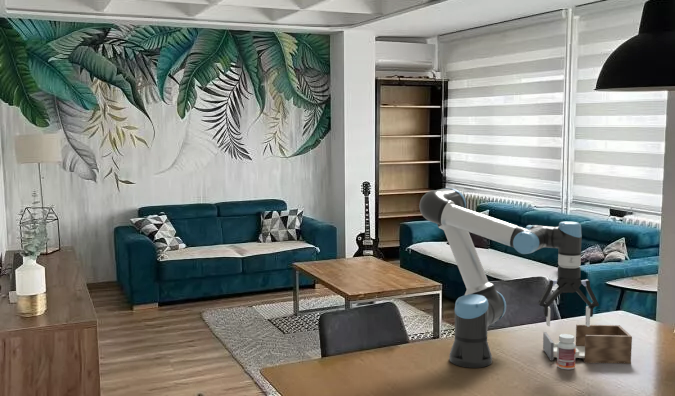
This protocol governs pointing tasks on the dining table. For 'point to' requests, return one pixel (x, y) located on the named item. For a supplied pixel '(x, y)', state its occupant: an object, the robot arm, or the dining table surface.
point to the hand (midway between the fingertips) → (567, 325)
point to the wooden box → (604, 343)
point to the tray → (551, 348)
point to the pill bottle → (566, 352)
